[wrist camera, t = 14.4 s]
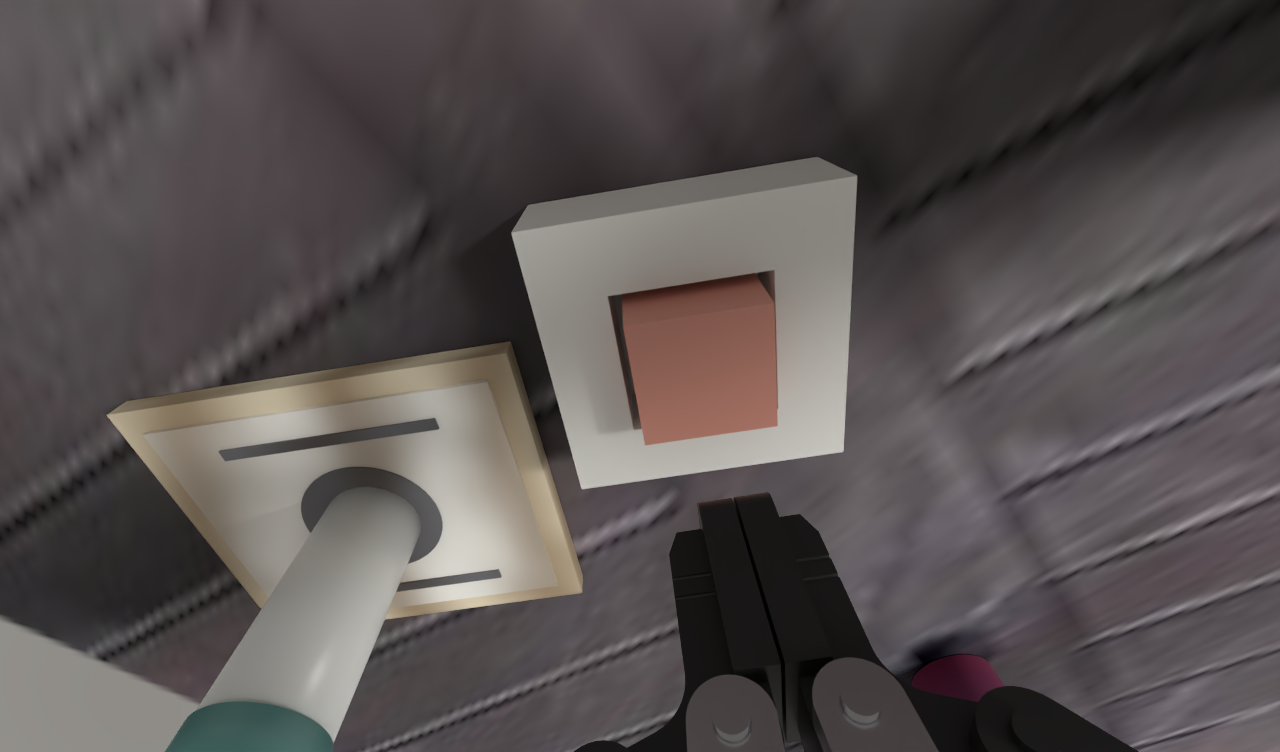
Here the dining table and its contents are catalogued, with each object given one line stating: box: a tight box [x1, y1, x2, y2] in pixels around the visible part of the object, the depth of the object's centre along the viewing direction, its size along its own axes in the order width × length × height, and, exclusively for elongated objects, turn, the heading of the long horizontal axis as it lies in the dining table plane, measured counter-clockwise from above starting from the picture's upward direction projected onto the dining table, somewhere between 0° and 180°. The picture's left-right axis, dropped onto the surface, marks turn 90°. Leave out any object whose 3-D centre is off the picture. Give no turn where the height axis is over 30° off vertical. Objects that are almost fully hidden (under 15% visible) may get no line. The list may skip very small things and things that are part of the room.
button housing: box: [511, 157, 857, 489], centre depth 19 cm, size 10×10×4 cm
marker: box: [165, 487, 422, 752], centre depth 19 cm, size 4×4×12 cm
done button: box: [622, 273, 778, 445], centre depth 18 cm, size 4×4×3 cm
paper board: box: [107, 341, 583, 619], centre depth 25 cm, size 16×14×1 cm
